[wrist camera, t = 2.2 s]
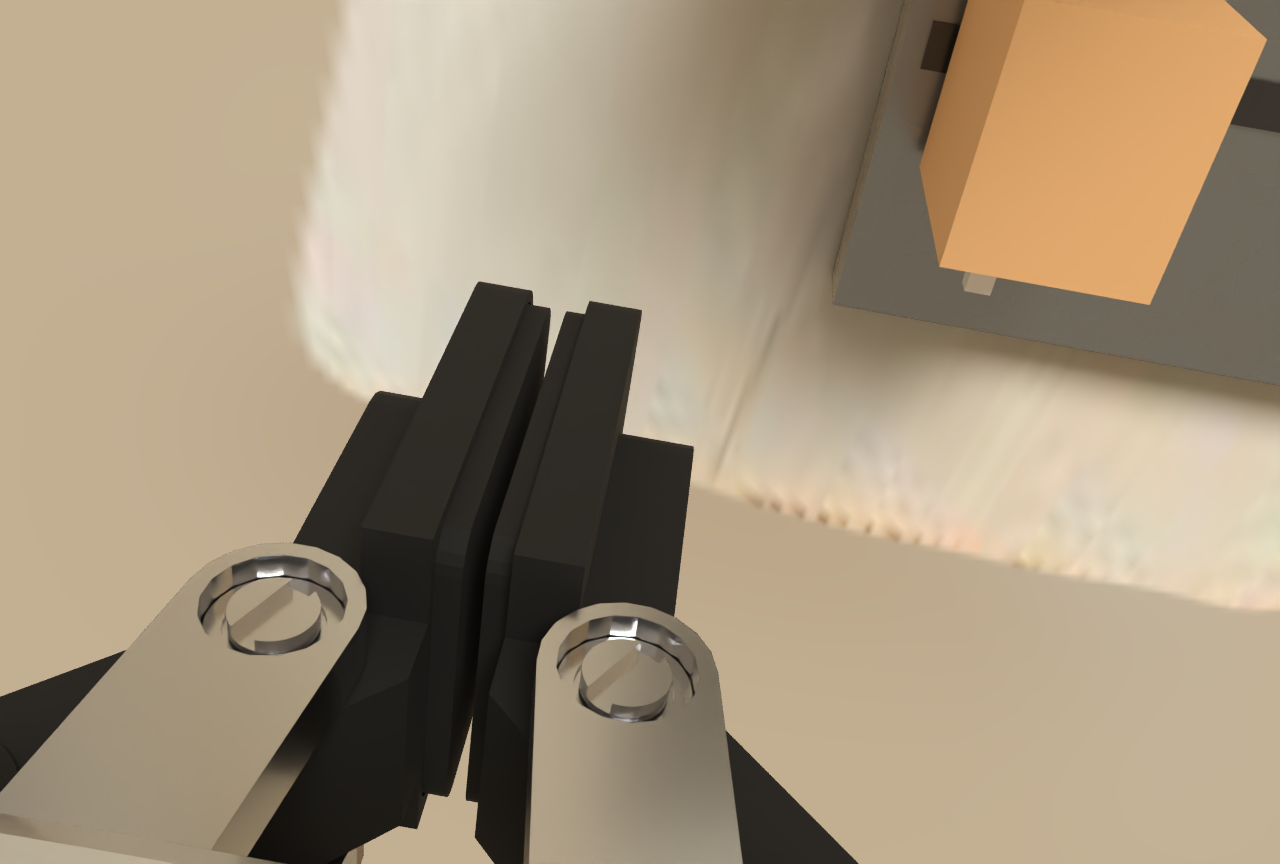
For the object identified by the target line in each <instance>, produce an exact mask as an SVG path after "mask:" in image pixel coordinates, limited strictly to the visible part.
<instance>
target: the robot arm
mask: <svg viewBox="0 0 1280 864" xmlns="http://www.w3.org/2000/svg"><path fill="white" fill-rule="evenodd" d="M641 315H642V310H638V309H632V308H626V307H621V306H615V305H609V304H604V303H598V302H592V301H589V304H588V307H587V310H586V313H585V314H580V313H574V312H568V311H567V312H566V313H565V316H564V319H563V322H562V325H561V328H560V331H559V334H558V338H557V341H556V344H555V347H554V350H553V353H552V356H551V359H550V362H549V365H548V368H547V371H546V374H545V377H544V372H545V363H546V354H547V345H548V337H549V328H550V317H551V310H550V308H546V307H540V306H534V305H533V292H532V291H530V290H525V289H519V288H513V287H508V286H502V285H496V284H491V283H485V282H478V283H477V285H476V286H475V288H474V291H473V293H472V295H471V297H470V299H469V301H468V303H467V305H466V307H465V309H464V312H463V314H462V316H461V318H460V320H459V322H458V324H457V326H456V328H455V331H454V333H453V335H452V337H451V339H450V341H449V343H448V345H447V347H446V349H445V352H444V354H443V356H442V358H441V360H440V362H439V364H438V366H437V368H436V371H435V373H434V375H433V377H432V379H431V381H430V383H429V385H428V387H427V389H426V392H425V394H424V396H423V398H418V397H412V396H407V395H401V394H395V393H390V392H384V391H379V392H377V393H375V395H374V396H373V397H372V399H371V400H370V402H369V404H368V406H367V408H366V409H365V411H364V413H363V415H362V417H361V419H360V421H359V422H358V424H357V426H356V428H355V430H354V432H353V434H352V435H351V437H350V439H349V441H348V443H347V444H346V446H345V448H344V450H343V452H342V454H341V456H340V457H339V459H338V461H337V463H336V465H335V467H334V469H333V470H332V472H331V474H330V476H329V478H328V480H327V481H326V483H325V485H324V487H323V489H322V491H321V493H320V494H319V496H318V498H317V500H316V502H315V504H314V505H313V507H312V509H311V511H310V513H309V515H308V517H307V518H306V520H305V522H304V524H303V526H302V528H301V530H300V531H299V533H298V535H297V537H296V539H295V541H294V542H293V543H272V544H259V545H255V546H250V547H246V548H242V549H238V550H234V551H232V552H230V553H228V554H225V555H223V556H221V557H219V558H217V559H215V560H213V561H211V562H209V563H208V564H207V565H206V566H204V567H203V568H202V569H201V570H200V571H198V572H197V573H196V574H195V575H194V576H192V577H191V578H190V579H189V580H188V581H187V583H186V584H185V585H184V586H183V587H182V588H181V589H180V591H179V592H178V593H177V594H176V595H175V596H174V597H173V598H172V599H171V601H170V602H169V603H168V604H167V605H166V606H165V607H164V608H163V610H162V611H161V612H160V613H159V614H158V615H157V616H156V617H155V619H154V620H153V621H152V622H151V623H150V624H149V625H148V626H147V628H146V629H145V630H144V631H143V632H142V633H141V634H140V636H139V637H138V638H137V639H136V640H135V641H134V642H133V644H132V645H131V646H130V647H129V648H128V649H127V650H125V651H122V652H120V653H117V654H114V655H112V656H109V657H106V658H104V659H101V660H98V661H96V662H93V663H90V664H88V665H85V666H82V667H80V668H77V669H74V670H71V671H69V672H66V673H63V674H61V675H58V676H55V677H52V678H50V679H47V680H45V681H42V682H39V683H36V684H34V685H31V686H28V687H26V688H23V689H20V690H17V691H15V692H12V693H9V694H7V695H4V696H1V697H0V864H361V860H362V858H363V856H364V855H363V854H364V853H363V852H364V844H365V843H367V842H369V841H371V840H373V839H375V838H377V837H379V836H380V835H382V834H384V833H386V832H388V831H390V830H392V829H394V828H396V827H398V826H403V827H408V828H414V829H417V827H418V825H419V822H420V818H421V815H422V812H423V809H424V805H425V802H426V799H427V796H428V794H434V795H439V796H445V797H448V796H449V794H450V791H451V788H452V785H453V782H454V778H455V775H456V772H457V768H458V765H459V761H460V758H461V754H462V751H463V748H464V744H465V741H466V737H467V734H468V731H469V727H470V724H471V720H472V717H473V720H472V732H471V744H470V755H469V766H468V777H467V788H466V800H467V801H473V802H478V810H477V820H476V831H475V838H476V840H477V841H478V842H479V844H480V845H481V846H482V847H483V849H484V850H485V852H486V853H487V854H488V856H489V857H490V858H491V860H492V861H493V862H494V864H858V863H857V862H856V861H855V860H854V859H853V858H852V857H851V856H850V855H849V854H848V853H847V852H846V851H845V850H844V849H843V848H842V847H841V846H840V845H839V844H838V843H837V842H836V841H835V840H834V838H833V837H832V836H831V835H830V834H828V832H827V831H826V830H824V828H823V827H822V826H821V825H820V824H819V823H818V822H816V820H815V819H814V818H813V817H811V815H810V814H809V813H807V811H806V810H805V809H804V808H803V807H801V805H799V803H798V802H797V801H796V800H795V799H794V798H793V797H792V796H791V795H790V794H788V792H787V791H786V790H785V789H784V788H783V787H782V786H781V785H780V784H779V783H778V782H777V781H776V780H775V779H774V778H773V777H772V776H771V775H770V774H769V773H768V772H767V771H766V770H765V769H764V768H763V767H762V766H761V765H760V764H759V763H758V762H757V761H756V760H755V759H754V758H753V757H752V756H751V755H750V754H749V753H748V752H747V751H746V750H745V749H744V748H743V747H742V746H741V745H740V744H739V743H738V742H737V741H736V740H735V739H734V738H733V737H732V736H731V735H730V734H729V733H728V732H727V731H726V730H725V723H724V714H723V706H722V699H721V691H720V683H719V675H718V671H717V668H716V665H715V662H714V659H713V656H712V653H711V651H710V649H709V648H708V647H707V646H706V644H705V643H704V642H703V640H702V639H701V638H700V637H699V635H698V634H697V633H696V632H695V631H693V630H692V629H691V628H689V627H688V626H686V625H685V624H684V623H683V622H681V621H680V620H679V619H677V618H675V617H674V613H675V605H676V596H677V588H678V580H679V571H680V563H681V554H682V545H683V537H684V529H685V520H686V512H687V504H688V495H689V487H690V478H691V470H692V462H693V452H694V447H693V446H688V445H682V444H677V443H671V442H665V441H660V440H654V439H648V438H643V437H637V436H632V435H626V434H622V433H623V426H624V420H625V414H626V408H627V402H628V396H629V390H630V383H631V377H632V371H633V365H634V359H635V353H636V347H637V340H638V334H639V328H640V322H641Z"/></svg>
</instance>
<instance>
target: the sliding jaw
mask: <svg viewBox="0 0 1280 864" xmlns="http://www.w3.org/2000/svg"><path fill="white" fill-rule="evenodd" d="M1266 41H1267V39H1266V38H1265V37H1264V36H1263V35H1262V34H1261V33H1260V32H1258V31H1257V30H1256V29H1255V28H1254V27H1253V26H1252V25H1251V24H1250V23H1249V22H1248V21H1247V20H1245V19H1244V18H1243V17H1242V16H1241V15H1240V14H1239V13H1238V12H1237V11H1236V10H1235V9H1233V8H1232V7H1231V6H1230V5H1229V4H1228V3H1227V2H1226V1H1225V0H968V2H967V5H966V9H965V12H964V16H963V19H962V23H961V26H960V29H959V33H958V36H957V40H956V43H955V46H954V50H953V53H952V57H951V60H950V63H949V67H948V70H947V74H946V77H945V81H944V84H943V87H942V91H941V94H940V98H939V101H938V104H937V108H936V111H935V115H934V118H933V122H932V125H931V128H930V132H929V135H928V139H927V142H926V145H925V149H924V152H923V156H922V159H921V163H920V166H919V168H920V173H921V178H922V183H923V188H924V193H925V197H926V202H927V207H928V212H929V217H930V222H931V227H932V232H933V237H934V242H935V247H936V252H937V257H938V262H939V267H943V268H949V269H954V270H960V271H965V274H964V277H963V280H962V283H963V287H964V291H967V292H972V293H978V294H983V295H989V296H990V295H991V292H992V289H993V286H994V283H995V280H996V278H997V277H998V278H1004V279H1009V280H1015V281H1020V282H1026V283H1031V284H1037V285H1042V286H1048V287H1053V288H1059V289H1064V290H1070V291H1075V292H1081V293H1086V294H1092V295H1097V296H1103V297H1108V298H1114V299H1119V300H1125V301H1130V302H1136V303H1141V304H1147V305H1150V303H1151V301H1152V299H1153V296H1154V294H1155V292H1156V290H1157V287H1158V285H1159V283H1160V281H1161V278H1162V276H1163V274H1164V272H1165V269H1166V267H1167V265H1168V263H1169V260H1170V258H1171V256H1172V254H1173V251H1174V249H1175V247H1176V245H1177V242H1178V240H1179V238H1180V235H1181V233H1182V231H1183V229H1184V226H1185V224H1186V222H1187V220H1188V217H1189V215H1190V213H1191V211H1192V208H1193V206H1194V204H1195V202H1196V199H1197V197H1198V195H1199V193H1200V190H1201V188H1202V186H1203V184H1204V181H1205V179H1206V177H1207V174H1208V172H1209V170H1210V168H1211V165H1212V163H1213V161H1214V159H1215V156H1216V154H1217V152H1218V150H1219V147H1220V145H1221V143H1222V141H1223V138H1224V136H1225V134H1226V132H1227V129H1228V127H1229V125H1230V123H1231V120H1232V118H1233V116H1234V113H1235V111H1236V109H1237V107H1238V104H1239V102H1240V100H1241V98H1242V95H1243V93H1244V91H1245V89H1246V86H1247V84H1248V82H1249V80H1250V77H1251V75H1252V73H1253V71H1254V68H1255V66H1256V64H1257V62H1258V59H1259V57H1260V55H1261V52H1262V50H1263V48H1264V46H1265V43H1266Z"/></svg>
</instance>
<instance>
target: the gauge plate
mask: <svg viewBox="0 0 1280 864" xmlns="http://www.w3.org/2000/svg"><path fill="white" fill-rule="evenodd" d="M1225 1H1226V2H1227V3H1228V4H1229V5H1230V6H1231V7H1232V8H1233V9H1235V10H1236V11H1237V12H1238V13H1239V14H1240V15H1241V16H1242V17H1243V18H1244V19H1245V20H1247V21H1248V22H1249V23H1250V24H1251V25H1252V26H1253V27H1254V28H1255V29H1256V30H1257V31H1258V32H1260V33H1261V34H1262V35H1263V36H1264V37H1265V38H1266V39H1267V41H1266V43H1265V46H1264V48H1263V50H1262V52H1261V55H1260V57H1259V59H1258V62H1257V64H1256V66H1255V68H1254V71H1253V73H1252V75H1251V77H1250V80H1249V82H1248V84H1247V86H1246V89H1245V91H1244V93H1243V95H1242V98H1241V100H1240V102H1239V104H1238V107H1237V109H1236V111H1235V113H1234V116H1233V118H1232V120H1231V123H1230V125H1229V127H1228V129H1227V132H1226V134H1225V136H1224V138H1223V141H1222V143H1221V145H1220V147H1219V150H1218V152H1217V154H1216V156H1215V159H1214V161H1213V163H1212V165H1211V168H1210V170H1209V172H1208V174H1207V177H1206V179H1205V181H1204V184H1203V186H1202V188H1201V190H1200V193H1199V195H1198V197H1197V199H1196V202H1195V204H1194V206H1193V208H1192V211H1191V213H1190V215H1189V217H1188V220H1187V222H1186V224H1185V226H1184V229H1183V231H1182V233H1181V235H1180V238H1179V240H1178V242H1177V245H1176V247H1175V249H1174V251H1173V254H1172V256H1171V258H1170V260H1169V263H1168V265H1167V267H1166V269H1165V272H1164V274H1163V276H1162V278H1161V281H1160V283H1159V285H1158V287H1157V290H1156V292H1155V294H1154V296H1153V299H1152V301H1151V303H1150V305H1147V304H1141V303H1136V302H1130V301H1125V300H1119V299H1114V298H1108V297H1103V296H1097V295H1092V294H1086V293H1081V292H1075V291H1070V290H1064V289H1059V288H1053V287H1048V286H1042V285H1037V284H1031V283H1026V282H1020V281H1015V280H1009V279H1004V278H998V277H997V278H996V280H995V283H994V286H993V289H992V292H991V295H990V296H989V295H983V294H978V293H972V292H967V291H964V287H963V283H962V280H963V277H964V274H965V271H960V270H954V269H949V268H943V267H939V262H938V257H937V252H936V247H935V242H934V237H933V232H932V227H931V222H930V217H929V212H928V207H927V202H926V197H925V193H924V188H923V183H922V178H921V173H920V168H919V166H920V163H921V159H922V156H923V152H924V149H925V145H926V142H927V139H928V135H929V132H930V128H931V125H932V122H933V118H934V115H935V111H936V108H937V104H938V101H939V98H940V94H941V91H942V87H943V84H944V81H945V77H946V74H947V70H948V67H949V63H950V60H951V57H952V53H953V50H954V46H955V43H956V40H957V36H958V33H959V29H960V26H961V23H962V19H963V16H964V12H965V9H966V5H967V2H968V0H905V1H904V4H903V8H902V12H901V16H900V20H899V23H898V27H897V31H896V35H895V39H894V42H893V46H892V50H891V54H890V58H889V61H888V65H887V69H886V73H885V77H884V80H883V84H882V88H881V92H880V96H879V99H878V103H877V107H876V111H875V115H874V118H873V122H872V126H871V130H870V134H869V138H868V141H867V145H866V149H865V153H864V157H863V160H862V164H861V168H860V172H859V176H858V179H857V183H856V187H855V191H854V195H853V198H852V202H851V206H850V210H849V214H848V217H847V221H846V225H845V229H844V233H843V236H842V240H841V244H840V248H839V252H838V255H837V259H836V263H835V267H834V271H833V274H832V291H833V304H835V305H841V306H846V307H852V308H857V309H863V310H868V311H874V312H879V313H885V314H890V315H896V316H901V317H906V318H912V319H917V320H923V321H928V322H934V323H939V324H945V325H950V326H956V327H961V328H967V329H972V330H978V331H983V332H989V333H994V334H1000V335H1005V336H1011V337H1016V338H1022V339H1027V340H1033V341H1038V342H1044V343H1049V344H1055V345H1060V346H1066V347H1071V348H1077V349H1082V350H1088V351H1093V352H1098V353H1104V354H1109V355H1115V356H1120V357H1126V358H1131V359H1137V360H1142V361H1148V362H1153V363H1159V364H1164V365H1170V366H1175V367H1181V368H1186V369H1192V370H1197V371H1203V372H1208V373H1214V374H1219V375H1225V376H1230V377H1236V378H1241V379H1247V380H1252V381H1258V382H1263V383H1269V384H1274V385H1280V0H1225Z"/></svg>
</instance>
